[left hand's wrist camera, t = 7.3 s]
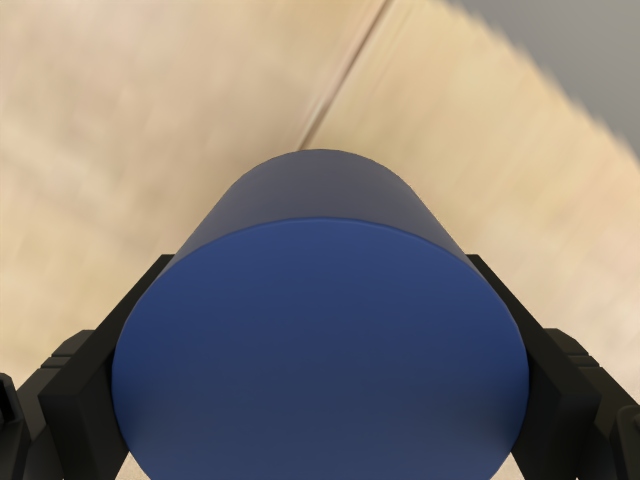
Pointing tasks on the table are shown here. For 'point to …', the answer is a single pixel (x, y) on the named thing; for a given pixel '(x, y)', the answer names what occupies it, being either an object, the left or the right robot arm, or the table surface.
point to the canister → (320, 339)
